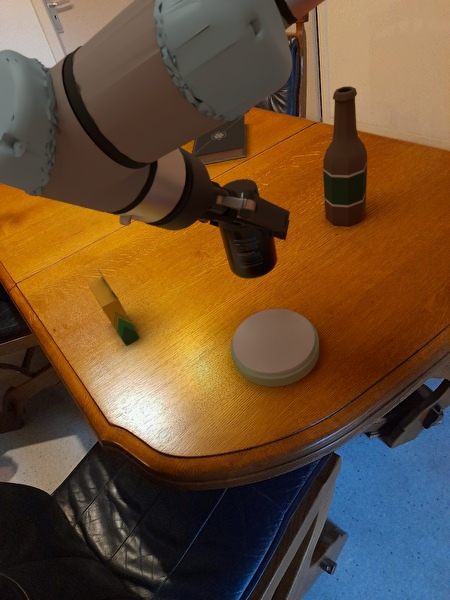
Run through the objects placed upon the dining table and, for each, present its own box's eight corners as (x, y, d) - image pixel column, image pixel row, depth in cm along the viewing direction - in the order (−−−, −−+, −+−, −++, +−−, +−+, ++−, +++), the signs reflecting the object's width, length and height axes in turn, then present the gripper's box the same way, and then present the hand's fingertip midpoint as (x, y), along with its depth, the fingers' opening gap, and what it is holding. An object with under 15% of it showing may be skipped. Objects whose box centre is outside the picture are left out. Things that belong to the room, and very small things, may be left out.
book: (199, 134, 126) (196, 124, 124) (246, 125, 124) (244, 115, 122) (192, 167, 111) (189, 157, 109) (245, 157, 108) (244, 146, 106)
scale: (325, 322, 63) (325, 310, 61) (311, 394, 55) (309, 382, 53) (246, 314, 68) (243, 302, 66) (222, 379, 59) (217, 368, 57)
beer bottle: (317, 219, 82) (309, 96, 66) (341, 201, 85) (339, 78, 68) (349, 232, 77) (350, 101, 61) (373, 211, 80) (380, 82, 63)
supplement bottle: (286, 255, 57) (276, 177, 49) (261, 286, 53) (246, 208, 45) (246, 244, 61) (230, 171, 52) (220, 273, 57) (199, 199, 49)
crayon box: (111, 323, 73) (82, 275, 65) (125, 314, 74) (98, 266, 66) (125, 347, 68) (95, 299, 60) (140, 338, 69) (113, 289, 61)
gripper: (73, 212, 41) (197, 243, 61) (243, 239, 32) (323, 264, 52) (85, 138, 41) (206, 193, 61) (262, 142, 31) (335, 206, 51)
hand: (260, 226), depth 56 cm, fingers closed on supplement bottle, 7 cm apart
